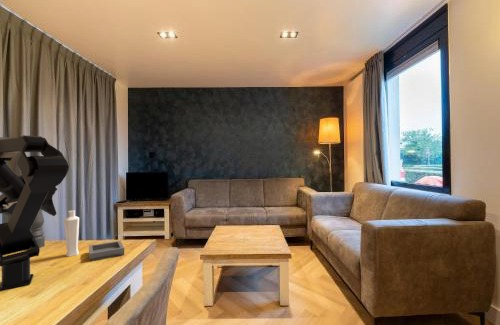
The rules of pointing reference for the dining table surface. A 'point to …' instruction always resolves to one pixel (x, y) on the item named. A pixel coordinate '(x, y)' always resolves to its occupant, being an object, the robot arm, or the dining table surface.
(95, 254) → the gray tray
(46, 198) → the robot arm
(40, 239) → the candle holder
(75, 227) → the perfume bottle
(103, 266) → the dining table surface
